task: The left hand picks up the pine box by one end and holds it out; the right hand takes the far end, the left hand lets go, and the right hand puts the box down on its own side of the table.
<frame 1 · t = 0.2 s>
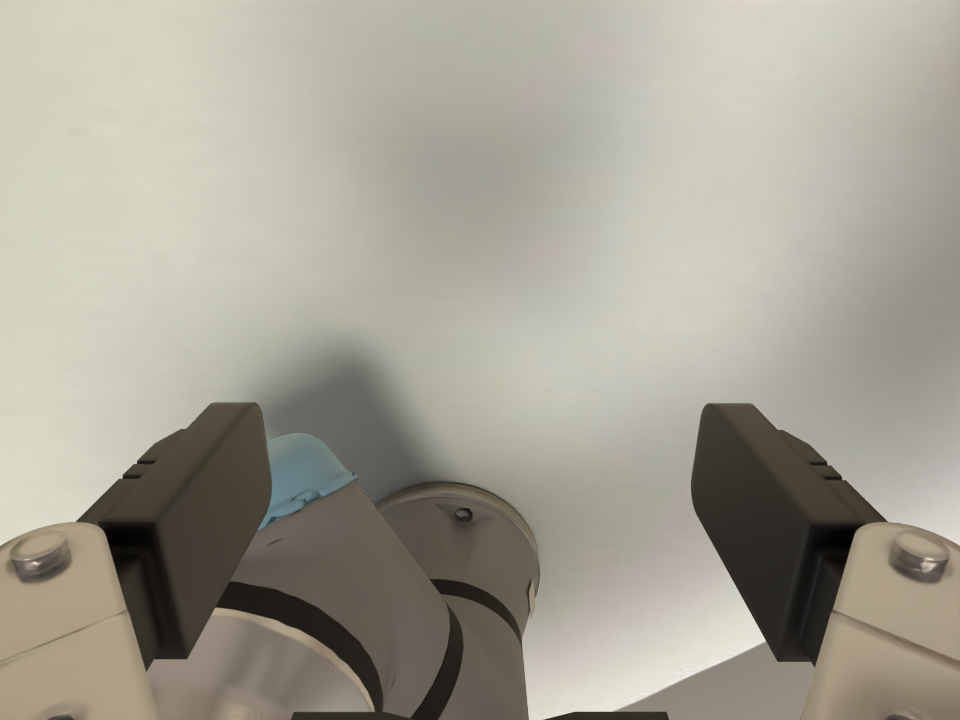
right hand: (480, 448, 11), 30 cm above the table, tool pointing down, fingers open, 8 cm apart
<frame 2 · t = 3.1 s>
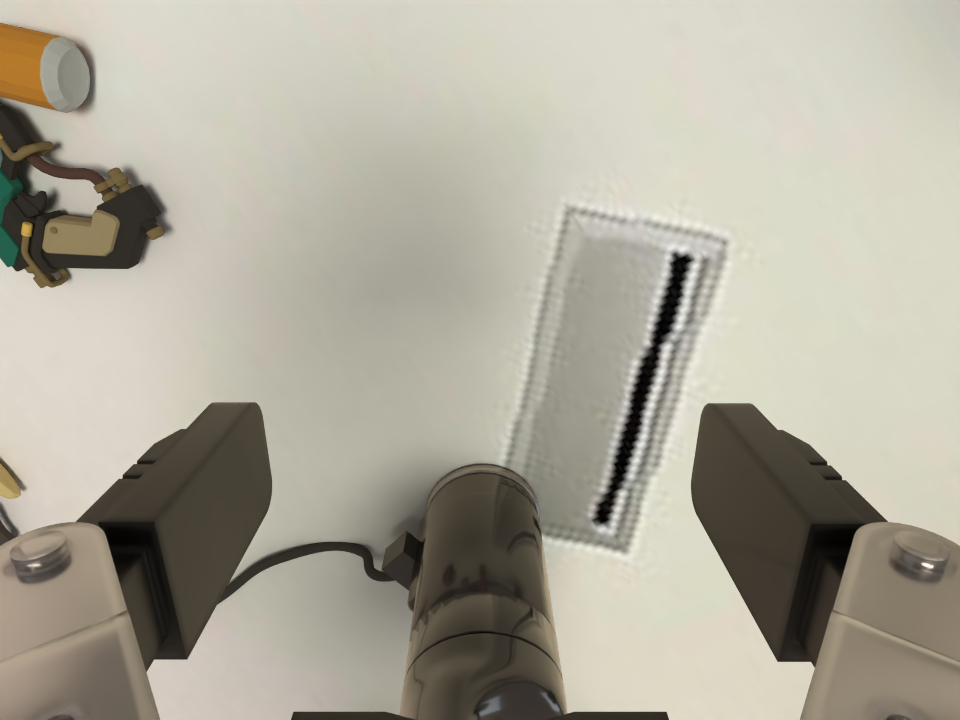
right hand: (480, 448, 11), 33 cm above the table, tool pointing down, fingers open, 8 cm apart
toy gun: (14, 546, 52), on the table
spray gun: (38, 157, 40), on the table
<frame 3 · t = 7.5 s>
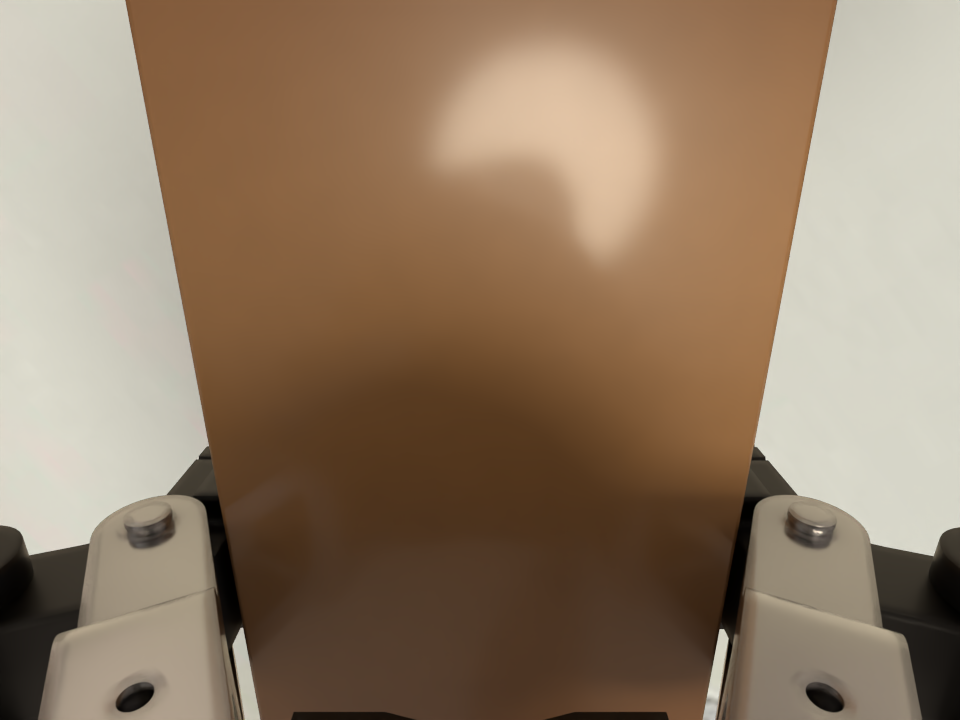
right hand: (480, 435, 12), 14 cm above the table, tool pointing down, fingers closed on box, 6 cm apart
when the left hand's fingers open (10 cm above the table, at t = 8.4 s): box stays where it is, held by the right hand.
when the right hand's fingers open (6 cm above the table, at t = 18.2 s): box drops 2 cm, on the table.
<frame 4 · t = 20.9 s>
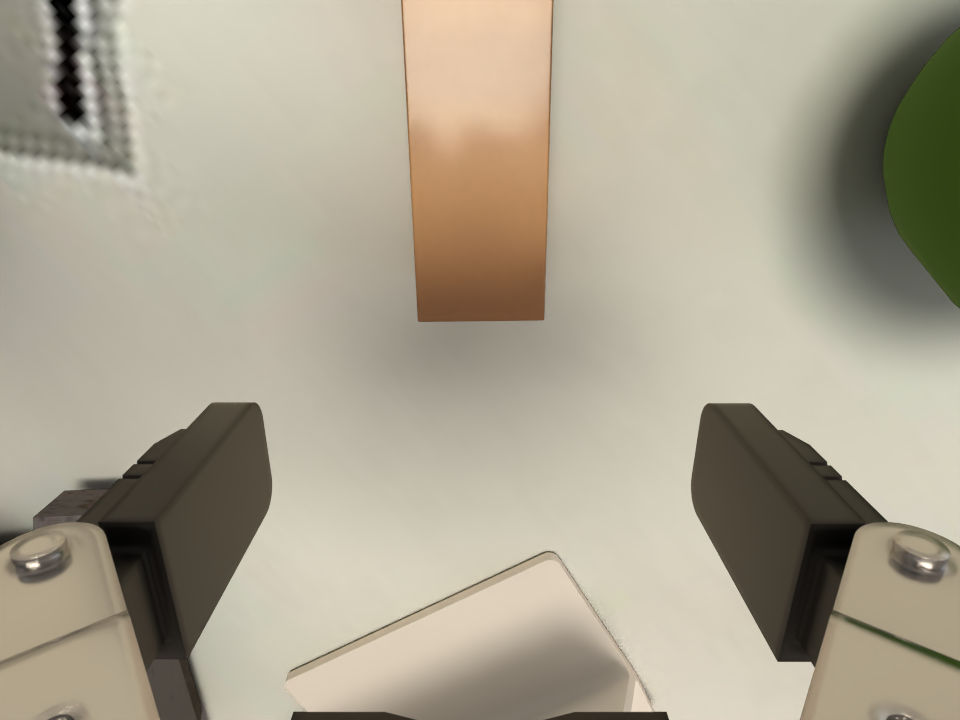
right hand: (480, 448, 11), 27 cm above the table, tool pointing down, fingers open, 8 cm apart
vase: (958, 138, 35), on the table
tablet stand: (470, 685, 50), on the table
box: (478, 72, 33), on the table
toy: (52, 616, 48), on the table
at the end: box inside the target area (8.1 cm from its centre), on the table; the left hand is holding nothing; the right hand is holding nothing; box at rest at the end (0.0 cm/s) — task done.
